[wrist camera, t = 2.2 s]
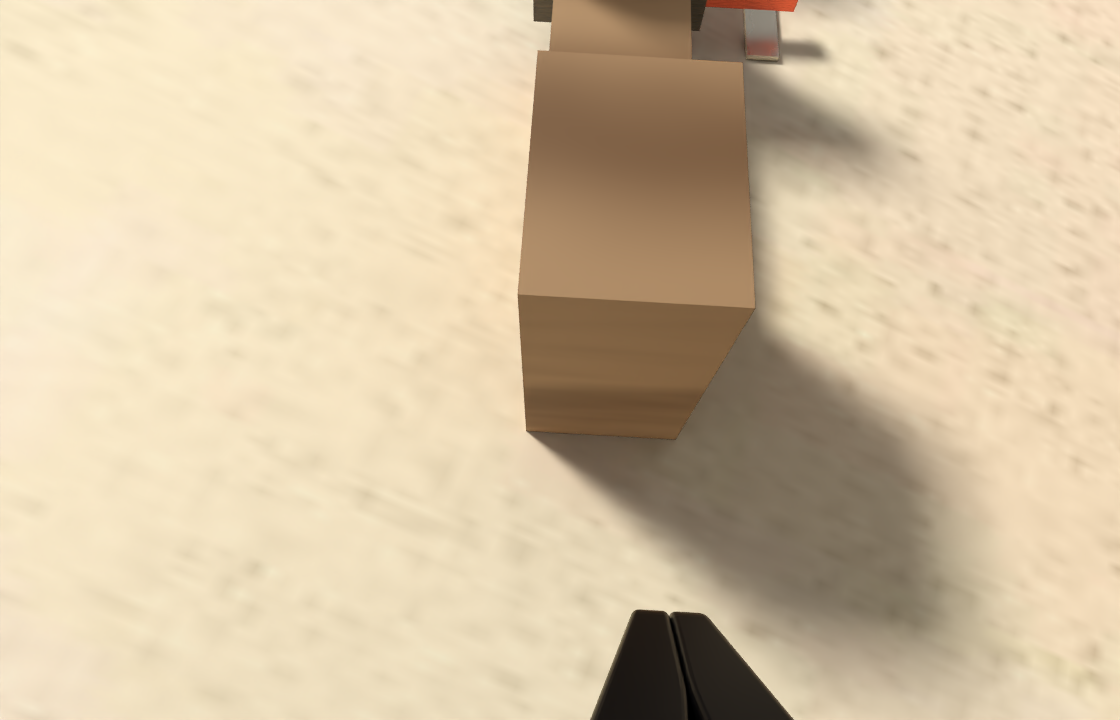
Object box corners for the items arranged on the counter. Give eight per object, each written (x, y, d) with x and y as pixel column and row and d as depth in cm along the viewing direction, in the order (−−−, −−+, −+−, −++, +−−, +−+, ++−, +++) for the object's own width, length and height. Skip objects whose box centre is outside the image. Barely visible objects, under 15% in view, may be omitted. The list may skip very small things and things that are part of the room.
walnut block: (675, 439, 22) (755, 308, 14) (526, 431, 22) (517, 293, 14) (673, 76, 28) (730, -177, 19) (552, 69, 28) (557, -187, 19)
